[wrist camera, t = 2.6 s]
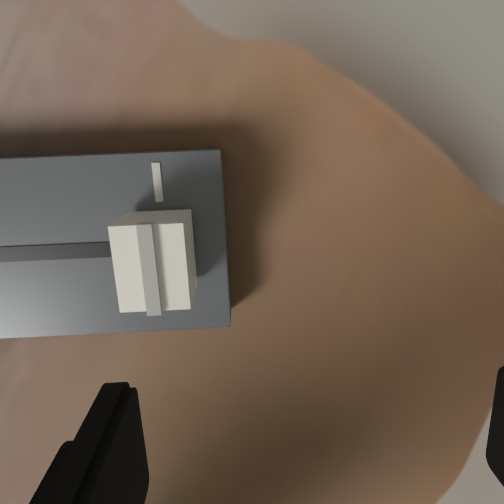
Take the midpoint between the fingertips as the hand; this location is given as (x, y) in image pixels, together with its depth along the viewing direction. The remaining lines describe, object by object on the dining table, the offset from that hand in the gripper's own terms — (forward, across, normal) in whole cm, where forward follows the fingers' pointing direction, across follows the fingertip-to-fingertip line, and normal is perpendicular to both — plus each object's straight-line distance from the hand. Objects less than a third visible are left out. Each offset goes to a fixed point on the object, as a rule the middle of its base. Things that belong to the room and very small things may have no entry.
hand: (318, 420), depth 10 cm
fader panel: (+20, +17, 0) cm, 26 cm away
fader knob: (+17, +7, 0) cm, 18 cm away
